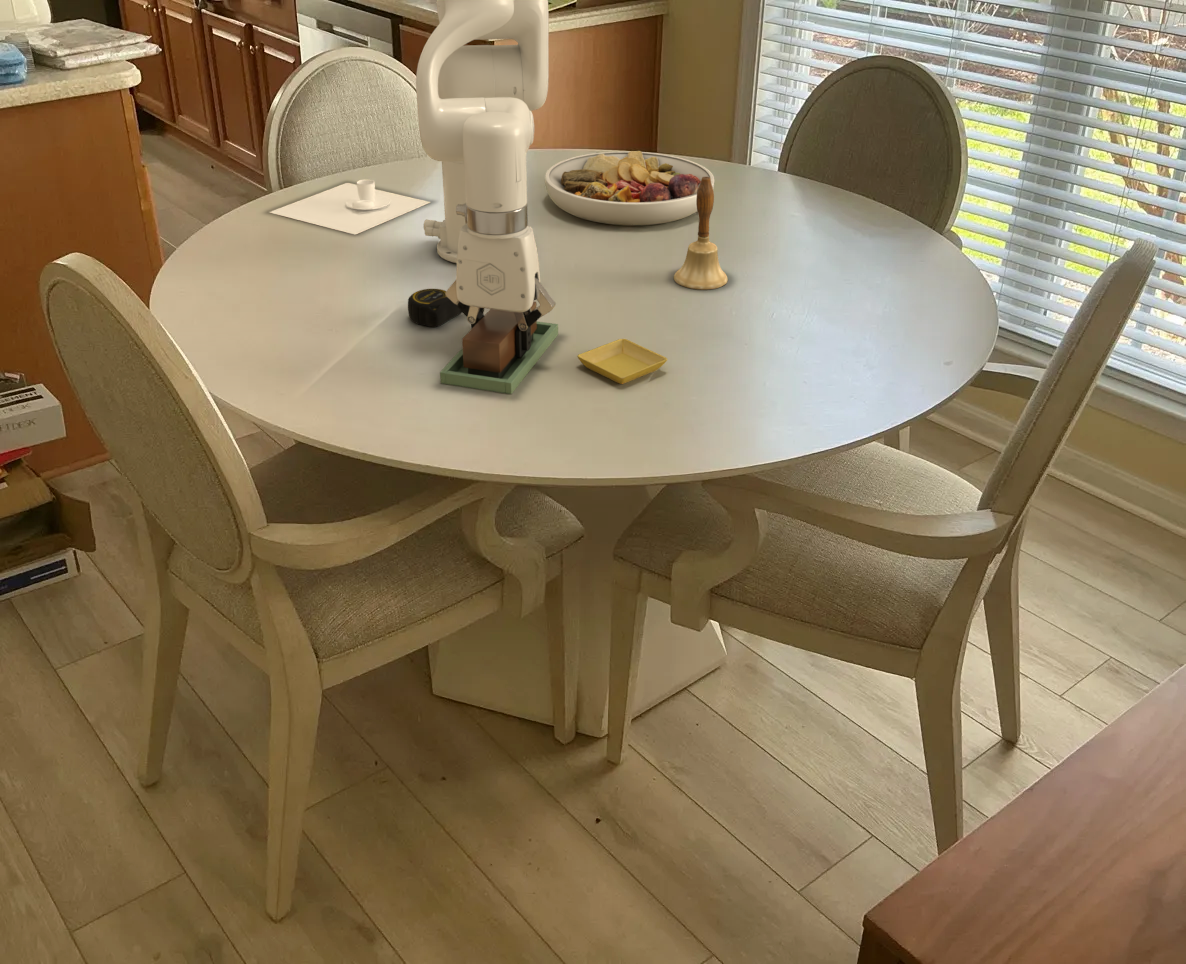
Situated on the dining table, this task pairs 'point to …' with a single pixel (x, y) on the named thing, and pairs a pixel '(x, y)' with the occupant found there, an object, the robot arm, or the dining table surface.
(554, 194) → the bowl
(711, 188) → the hand bell
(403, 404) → the dining table surface
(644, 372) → the yellow flat tray
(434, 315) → the tape measure
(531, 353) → the tray
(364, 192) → the teacup and saucer
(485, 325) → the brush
